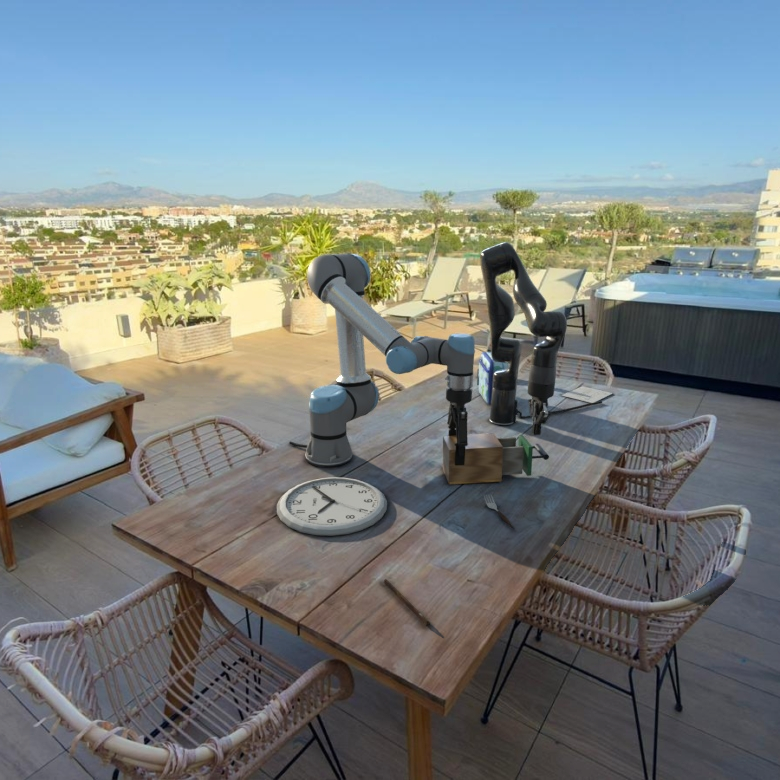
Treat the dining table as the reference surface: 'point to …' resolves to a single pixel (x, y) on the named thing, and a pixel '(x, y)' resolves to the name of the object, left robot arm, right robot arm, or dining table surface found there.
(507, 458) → the drawer
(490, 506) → the fork
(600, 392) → the invitation card
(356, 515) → the wall clock
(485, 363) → the lunch box
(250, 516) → the dining table surface
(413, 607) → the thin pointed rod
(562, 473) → the dining table surface
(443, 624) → the dining table surface
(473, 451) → the open wooden box
